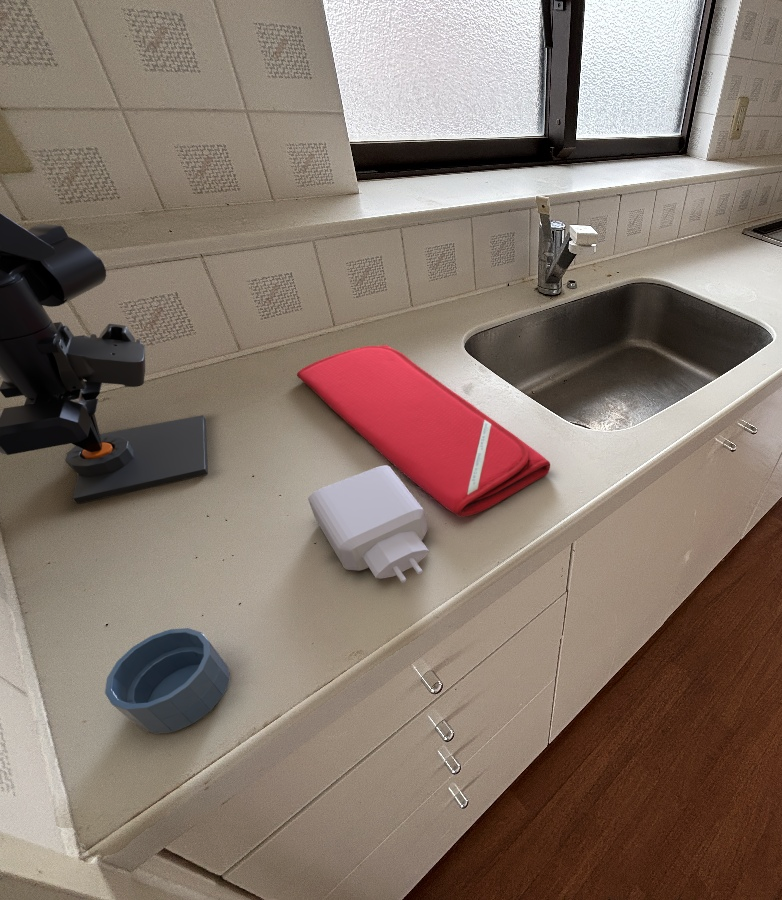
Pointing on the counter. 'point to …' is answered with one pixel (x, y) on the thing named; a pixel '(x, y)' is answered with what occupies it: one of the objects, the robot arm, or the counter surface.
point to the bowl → (168, 680)
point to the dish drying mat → (425, 428)
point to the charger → (372, 523)
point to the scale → (142, 459)
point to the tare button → (98, 452)
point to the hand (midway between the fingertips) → (96, 449)
